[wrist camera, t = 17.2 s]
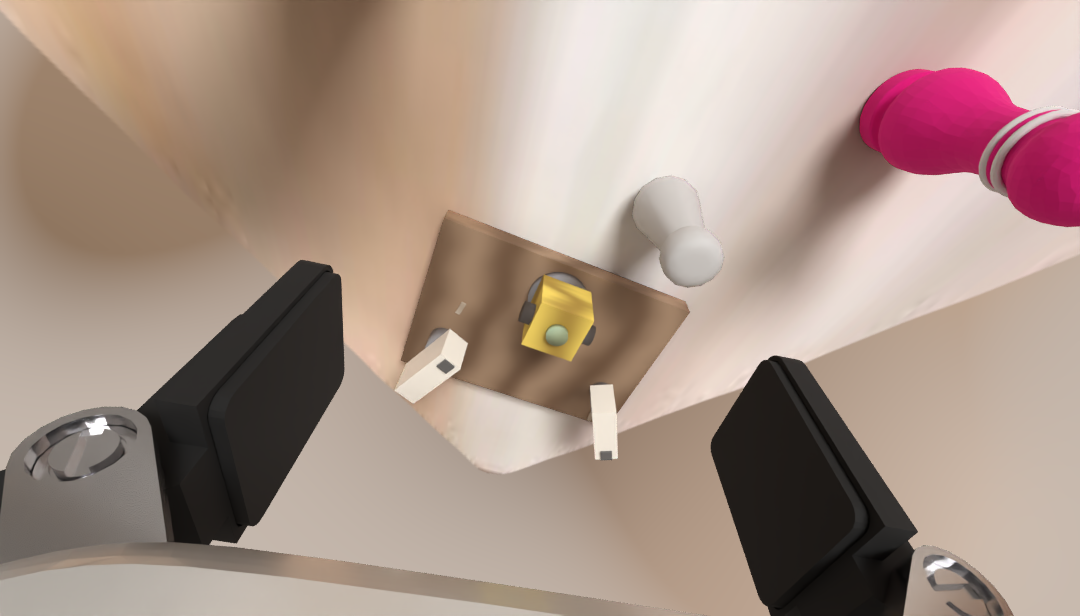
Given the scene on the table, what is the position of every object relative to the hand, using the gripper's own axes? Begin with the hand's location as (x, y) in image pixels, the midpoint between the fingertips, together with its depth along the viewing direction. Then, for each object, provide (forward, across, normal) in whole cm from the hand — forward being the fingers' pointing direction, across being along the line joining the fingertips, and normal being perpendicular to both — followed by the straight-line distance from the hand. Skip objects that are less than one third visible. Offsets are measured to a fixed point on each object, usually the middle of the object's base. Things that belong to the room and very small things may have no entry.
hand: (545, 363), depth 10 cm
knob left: (+31, +7, +25) cm, 41 cm away
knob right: (+31, -12, +28) cm, 44 cm away
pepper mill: (+34, -27, -5) cm, 44 cm away
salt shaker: (+34, -11, +6) cm, 36 cm away
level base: (+33, -3, +23) cm, 41 cm away
